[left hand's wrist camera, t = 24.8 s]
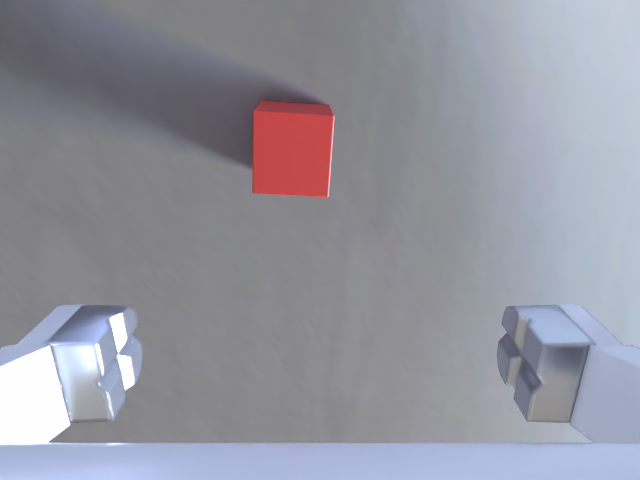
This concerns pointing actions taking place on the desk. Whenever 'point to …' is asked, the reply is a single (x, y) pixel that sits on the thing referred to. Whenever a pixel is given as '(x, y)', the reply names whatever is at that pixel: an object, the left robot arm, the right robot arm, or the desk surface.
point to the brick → (292, 148)
